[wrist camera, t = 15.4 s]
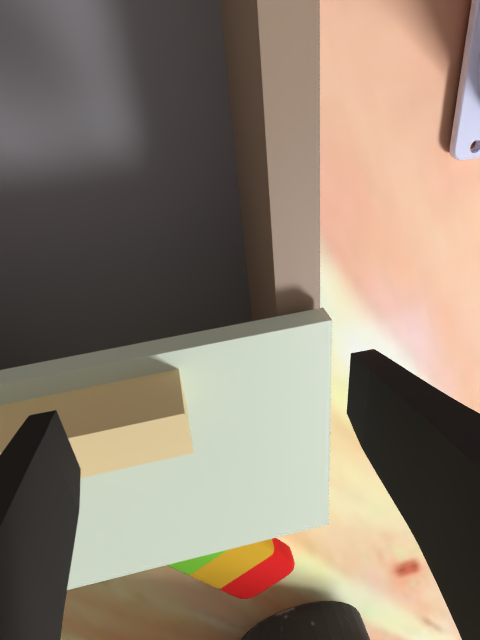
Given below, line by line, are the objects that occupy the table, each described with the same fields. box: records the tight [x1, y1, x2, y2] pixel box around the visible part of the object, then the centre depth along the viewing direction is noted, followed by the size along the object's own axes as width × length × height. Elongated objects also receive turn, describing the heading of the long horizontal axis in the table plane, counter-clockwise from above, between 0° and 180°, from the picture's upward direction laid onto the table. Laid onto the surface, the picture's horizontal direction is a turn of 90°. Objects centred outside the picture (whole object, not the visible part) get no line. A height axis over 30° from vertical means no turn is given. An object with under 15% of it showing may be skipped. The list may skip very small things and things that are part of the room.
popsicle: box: [167, 538, 295, 599], centre depth 30 cm, size 6×15×2 cm, turn 38°
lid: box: [0, 308, 332, 590], centre depth 16 cm, size 16×11×3 cm
